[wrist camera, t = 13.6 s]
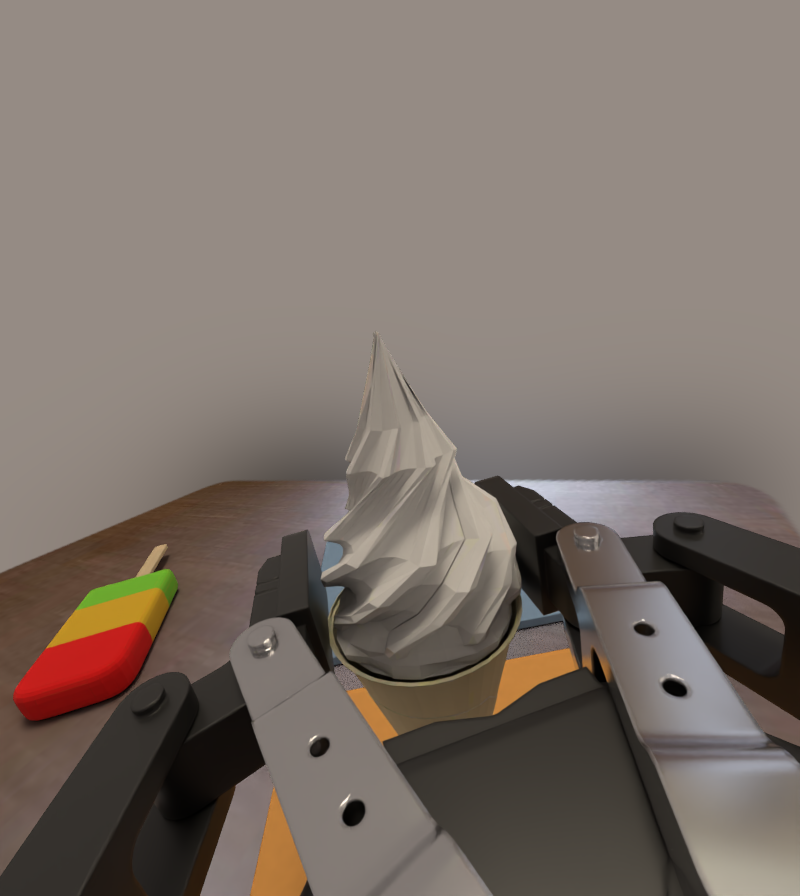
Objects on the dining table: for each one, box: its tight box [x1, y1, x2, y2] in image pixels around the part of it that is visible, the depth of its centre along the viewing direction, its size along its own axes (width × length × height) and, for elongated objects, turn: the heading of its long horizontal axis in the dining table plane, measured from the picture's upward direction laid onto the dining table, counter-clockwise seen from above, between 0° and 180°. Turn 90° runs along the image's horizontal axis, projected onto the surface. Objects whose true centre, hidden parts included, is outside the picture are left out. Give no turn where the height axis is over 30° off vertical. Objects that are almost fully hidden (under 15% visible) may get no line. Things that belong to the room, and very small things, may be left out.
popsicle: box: [13, 545, 178, 721], centre depth 28 cm, size 6×15×2 cm, turn 12°
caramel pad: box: [250, 648, 576, 896], centre depth 13 cm, size 14×11×1 cm
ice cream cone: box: [320, 332, 522, 735], centre depth 11 cm, size 5×5×15 cm
